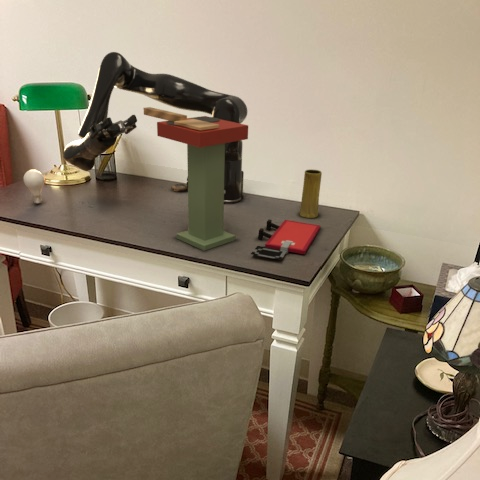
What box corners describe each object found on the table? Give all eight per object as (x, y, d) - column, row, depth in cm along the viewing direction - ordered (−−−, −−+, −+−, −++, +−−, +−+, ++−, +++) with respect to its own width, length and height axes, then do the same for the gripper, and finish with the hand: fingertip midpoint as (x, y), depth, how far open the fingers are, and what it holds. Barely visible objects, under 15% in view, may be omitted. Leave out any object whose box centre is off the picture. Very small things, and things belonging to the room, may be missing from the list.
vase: (320, 214, 173) (325, 170, 166) (314, 219, 168) (319, 175, 161) (302, 211, 175) (307, 168, 168) (296, 216, 170) (300, 172, 163)
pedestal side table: (161, 233, 153) (156, 121, 137) (205, 221, 163) (205, 115, 148) (201, 251, 142) (201, 132, 126) (245, 236, 153) (249, 124, 137)
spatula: (137, 115, 143) (136, 108, 143) (156, 113, 148) (155, 106, 147) (200, 130, 128) (199, 123, 127) (219, 127, 132) (219, 120, 131)
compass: (174, 186, 194) (173, 166, 190) (194, 188, 193) (194, 168, 189) (167, 192, 187) (166, 172, 184) (188, 194, 186) (188, 174, 182)
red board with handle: (243, 256, 140) (298, 266, 136) (244, 246, 138) (299, 256, 135) (273, 222, 165) (319, 229, 161) (273, 213, 163) (321, 221, 160)
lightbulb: (41, 207, 169) (36, 173, 163) (23, 205, 170) (17, 171, 164) (51, 201, 174) (46, 168, 169) (34, 199, 175) (28, 166, 170)
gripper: (75, 130, 162) (97, 108, 149) (114, 125, 170) (138, 104, 158) (84, 154, 163) (106, 134, 150) (122, 148, 172) (147, 129, 159)
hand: (123, 119), depth 154 cm, fingers open, 8 cm apart
